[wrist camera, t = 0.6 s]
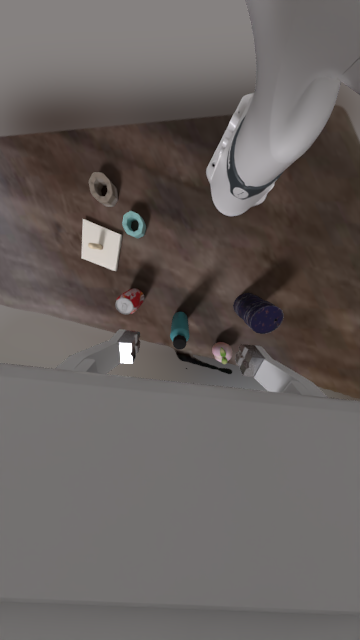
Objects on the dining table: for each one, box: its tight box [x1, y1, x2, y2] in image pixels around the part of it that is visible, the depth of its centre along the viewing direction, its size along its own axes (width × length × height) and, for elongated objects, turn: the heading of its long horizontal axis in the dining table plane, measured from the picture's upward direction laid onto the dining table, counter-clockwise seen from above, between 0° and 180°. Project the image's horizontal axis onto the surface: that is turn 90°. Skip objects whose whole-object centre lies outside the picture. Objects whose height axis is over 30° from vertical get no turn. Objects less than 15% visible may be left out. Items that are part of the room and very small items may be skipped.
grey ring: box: [89, 172, 118, 207], centre depth 37 cm, size 6×6×4 cm
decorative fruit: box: [212, 342, 232, 364], centre depth 57 cm, size 9×8×10 cm
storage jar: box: [233, 293, 283, 334], centre depth 46 cm, size 10×10×15 cm
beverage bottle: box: [170, 312, 189, 349], centre depth 47 cm, size 6×7×20 cm
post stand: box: [82, 219, 122, 271], centre depth 42 cm, size 12×12×6 cm
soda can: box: [116, 289, 144, 314], centre depth 47 cm, size 7×7×12 cm
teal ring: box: [122, 211, 146, 238], centre depth 40 cm, size 6×6×4 cm
